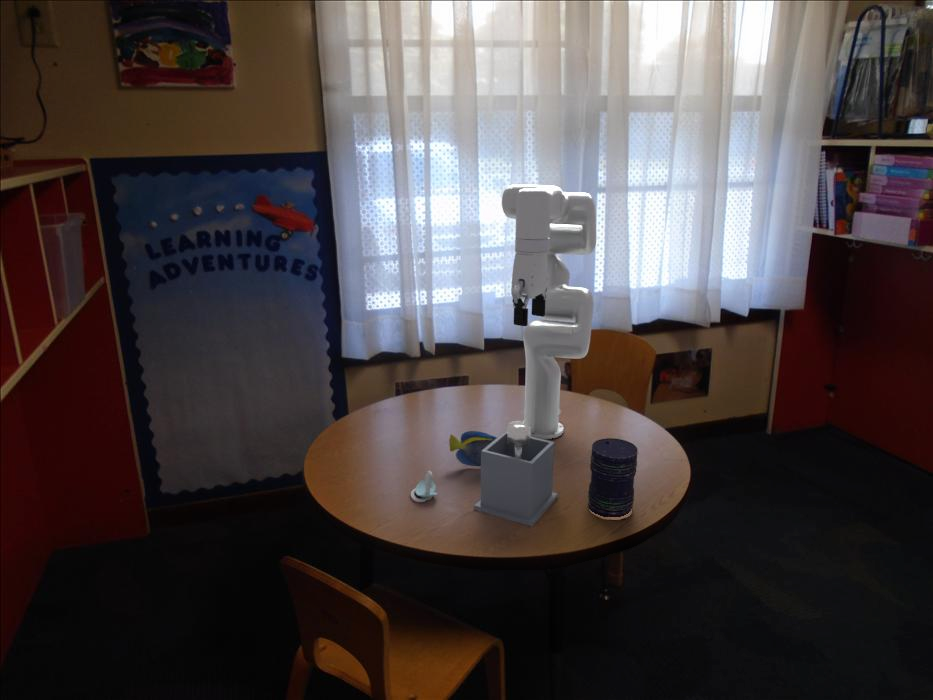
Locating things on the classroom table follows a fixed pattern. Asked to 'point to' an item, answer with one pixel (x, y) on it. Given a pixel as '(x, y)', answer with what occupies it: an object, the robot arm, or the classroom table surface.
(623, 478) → the dark blue cylinder
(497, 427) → the classroom table surface
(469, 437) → the tropical fish figurine
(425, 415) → the classroom table surface
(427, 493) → the pacifier
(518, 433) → the plunger
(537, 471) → the press housing
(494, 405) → the classroom table surface
